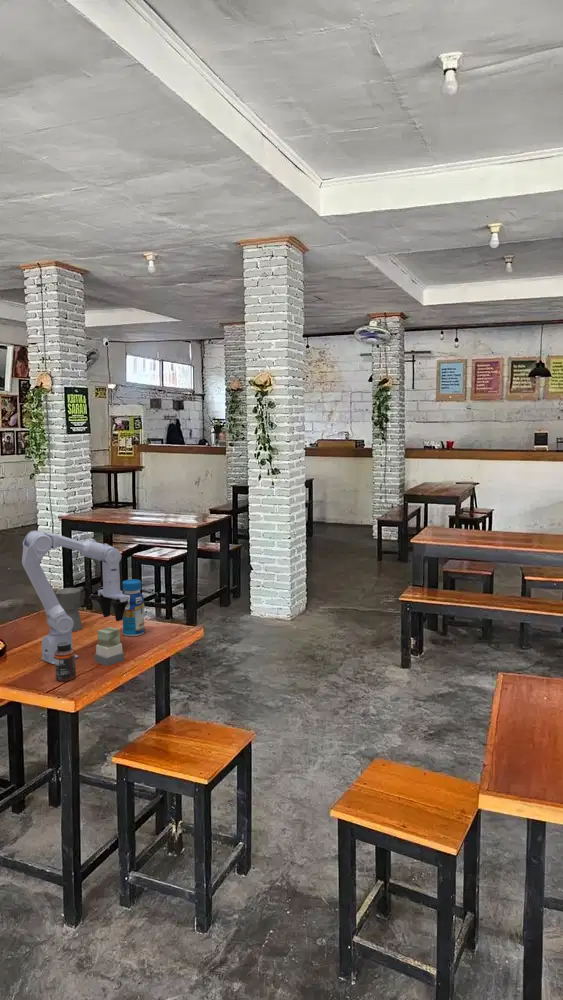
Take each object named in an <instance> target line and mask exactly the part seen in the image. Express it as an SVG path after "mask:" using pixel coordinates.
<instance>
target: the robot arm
mask: <svg viewBox="0 0 563 1000" xmlns="http://www.w3.org/2000/svg"><path fill="white" fill-rule="evenodd" d="M22 547H23V548H22V557H21V564H22V567H23V569H24V571H25V573H26V575H27V576H28V579H29V581H30V582H31V585H32V586H33V588H34V590H35V593H36V594H37V596H38V598H39V600H40V602H41V604H42V606H43V607H44V608H43V609H44V613H45V616H46V623H47V626H49V627H50V629H49V631H48V632H49V633H48V634H47V635H44V636H43V637H42V639H41V655H42V656H41V658H40V659H41V660H42V661H45V662H46V663H49V664H51V665H55V651H56V650H57V649H58V648H57V644H58V643H60V642H70V643H71V648H72V649H73V648H74V647H73V632H72V628H73V625H74V623H73V620H72V618H71V617H69V616H68V615H67V614H66V612H65V611H64V609H63V608H62V607H61V605H60V603H59V601H58V599H57V597H56V595H55V591H54V590H53V588H52V586H51V584H50V582H49V580H48V578H47V576H46V574H45V572H44V570H43V568H42V566H41V562H42V560H43V558H44V557H45V555H47V553H48V552H49V551H50V550H51V549H52V550H53V549H56V548H58V547H61V548H66V549H70V550H74V551H77V552H80V554H81V556H82V557H85V558H90V559H92V560H96V561H101V562H102V563H101V564H102V565H101V567H102V584H103V585H102V589H101V588H100V589H98V590H97V595H98V597H96V601H97V603H98V604H99V607H100V609H101V611H102V615H103V617H104V618H109V617H110V616H111V606H112V608H113V611H114V617H115V621H116V622H120V621H122V619H123V614H124V610H125V608H126V605H127V604H128V600H126V596H125V595H124V594H123V593H124V591H123V590H121V577H120V562H121V560H122V557H123V555H122V554H121V551H120V550H119V548H117V547H113V546H112V545H110V544H108V543H100V542H97V541H96V539H93V538H91V539H86V540H84V541H79V540H77V539H73V538H71V537H66V536H64V535H60V534H57V533H54V532H53V533H52V532H46V531H39V530H30V531H29V532H28V533H27V534H26V535H25V537H24V539H23V541H22ZM112 600H115V601H112ZM73 650H74V649H73ZM76 658H79V655H77V654H75V659H76Z"/></svg>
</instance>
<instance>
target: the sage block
mask: <svg viewBox="0 0 563 1000" xmlns="http://www.w3.org/2000/svg"><path fill="white" fill-rule="evenodd" d="M120 632H121V631H120V628H116V627H111V626H108V627H104V628H102V629H98V630H97V645H99V646H103V647H106V648H110V647H113V646H116V645H118V644H120V643H121V637H120V636H121V634H120Z"/></svg>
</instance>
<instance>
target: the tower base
mask: <svg viewBox="0 0 563 1000" xmlns="http://www.w3.org/2000/svg"><path fill="white" fill-rule="evenodd" d="M125 659H126V658H125V652H123V651H122V653H120V654H117V655H114V656H111V657H104V656H101V655H98V654H96V653H94V662H95V663H98V664H100V665H103V666H104V667H109V666H111V665H115V664H117V663H122V662H125Z"/></svg>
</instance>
